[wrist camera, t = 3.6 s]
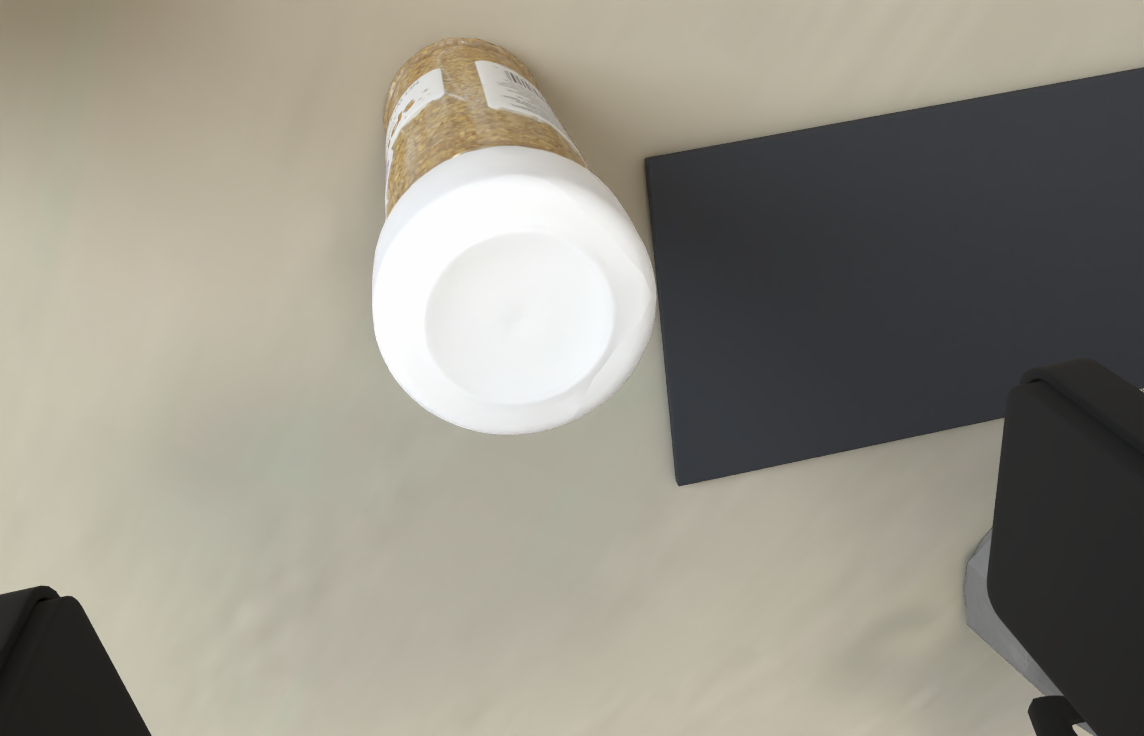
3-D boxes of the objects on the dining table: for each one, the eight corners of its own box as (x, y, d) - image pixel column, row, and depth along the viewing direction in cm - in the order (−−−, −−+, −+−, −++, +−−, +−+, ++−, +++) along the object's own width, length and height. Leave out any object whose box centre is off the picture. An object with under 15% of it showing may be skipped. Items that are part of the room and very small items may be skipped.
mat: (644, 158, 27) (647, 161, 27) (1202, 56, 29) (1211, 58, 28) (675, 480, 33) (678, 487, 33) (1137, 383, 34) (1144, 388, 34)
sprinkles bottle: (356, 71, 25) (315, 247, 13) (512, 9, 25) (613, 130, 13) (424, 221, 27) (442, 484, 15) (567, 164, 27) (696, 385, 15)
